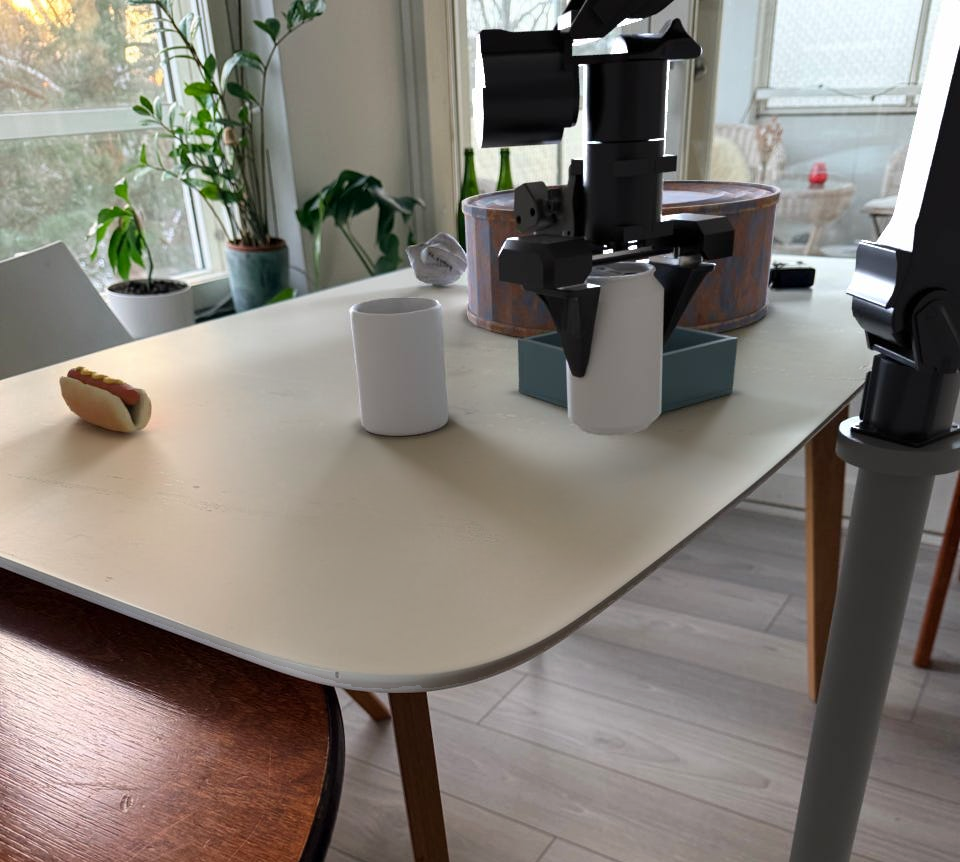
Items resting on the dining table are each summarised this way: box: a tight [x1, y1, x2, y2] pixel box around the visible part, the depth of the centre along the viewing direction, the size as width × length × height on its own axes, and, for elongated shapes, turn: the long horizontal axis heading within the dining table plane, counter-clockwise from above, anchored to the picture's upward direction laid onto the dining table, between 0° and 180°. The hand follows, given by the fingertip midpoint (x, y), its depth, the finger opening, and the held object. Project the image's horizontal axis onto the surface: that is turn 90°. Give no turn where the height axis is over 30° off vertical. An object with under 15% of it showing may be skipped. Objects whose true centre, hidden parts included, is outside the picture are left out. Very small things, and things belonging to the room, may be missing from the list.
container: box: [461, 179, 782, 338], centre depth 128 cm, size 43×43×15 cm
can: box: [566, 262, 664, 437], centre depth 71 cm, size 8×8×12 cm
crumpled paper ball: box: [405, 231, 467, 286], centre depth 154 cm, size 11×9×8 cm
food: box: [59, 365, 153, 434], centre depth 92 cm, size 14×6×5 cm, turn 45°
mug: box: [349, 296, 449, 437], centre depth 87 cm, size 12×8×11 cm
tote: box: [517, 326, 739, 414], centre depth 93 cm, size 16×16×6 cm
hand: (616, 367), depth 71 cm, fingers closed on can, 7 cm apart
